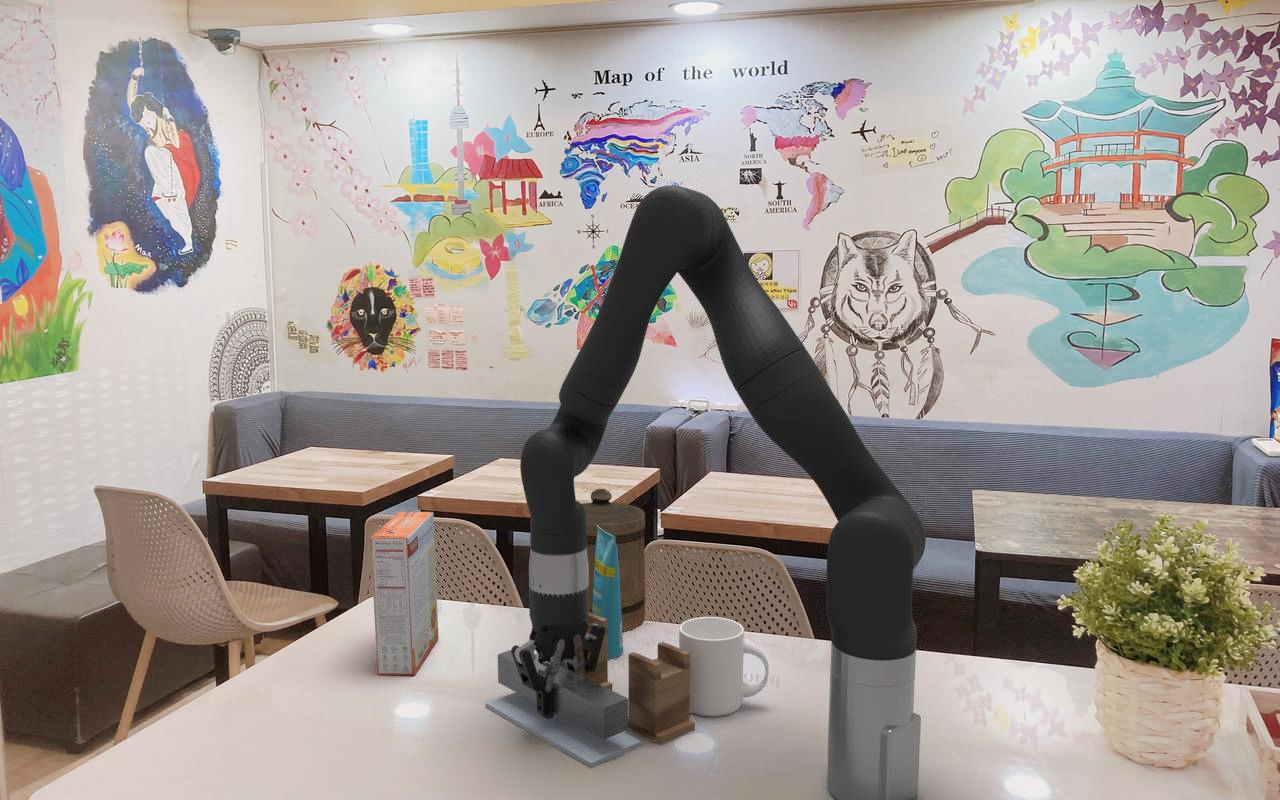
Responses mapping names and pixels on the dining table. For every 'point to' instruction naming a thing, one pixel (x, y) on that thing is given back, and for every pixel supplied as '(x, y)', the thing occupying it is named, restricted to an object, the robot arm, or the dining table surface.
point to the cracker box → (404, 592)
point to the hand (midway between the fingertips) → (560, 710)
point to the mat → (562, 731)
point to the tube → (608, 590)
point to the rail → (574, 698)
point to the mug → (718, 664)
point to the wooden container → (619, 551)
